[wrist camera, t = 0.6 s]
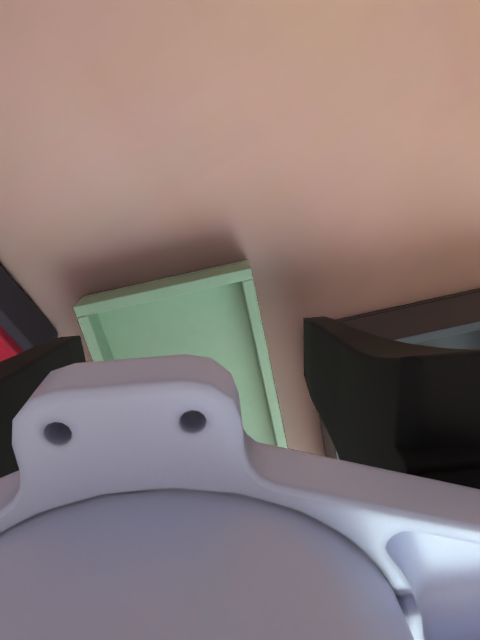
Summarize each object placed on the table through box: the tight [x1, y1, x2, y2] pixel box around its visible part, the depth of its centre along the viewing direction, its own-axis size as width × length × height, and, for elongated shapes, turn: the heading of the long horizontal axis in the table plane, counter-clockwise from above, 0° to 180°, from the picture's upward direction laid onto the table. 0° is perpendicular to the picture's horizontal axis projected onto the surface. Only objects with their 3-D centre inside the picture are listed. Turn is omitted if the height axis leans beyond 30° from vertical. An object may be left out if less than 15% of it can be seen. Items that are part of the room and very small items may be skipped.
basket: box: [319, 289, 480, 460], centre depth 25 cm, size 12×12×4 cm
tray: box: [73, 260, 288, 449], centre depth 25 cm, size 15×9×2 cm, turn 12°
